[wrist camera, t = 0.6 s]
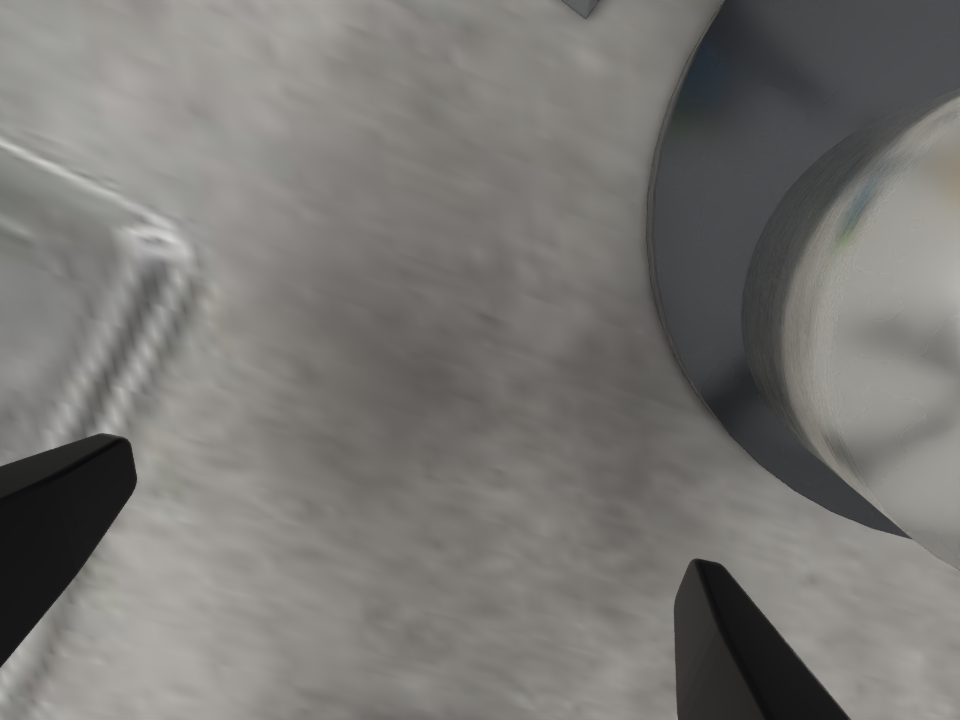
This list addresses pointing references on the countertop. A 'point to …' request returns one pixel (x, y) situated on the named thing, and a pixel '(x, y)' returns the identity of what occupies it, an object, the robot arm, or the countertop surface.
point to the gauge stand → (582, 6)
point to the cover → (870, 317)
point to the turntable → (772, 180)
